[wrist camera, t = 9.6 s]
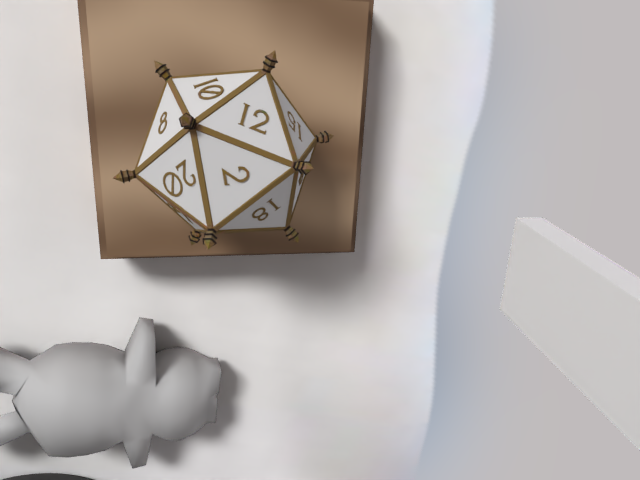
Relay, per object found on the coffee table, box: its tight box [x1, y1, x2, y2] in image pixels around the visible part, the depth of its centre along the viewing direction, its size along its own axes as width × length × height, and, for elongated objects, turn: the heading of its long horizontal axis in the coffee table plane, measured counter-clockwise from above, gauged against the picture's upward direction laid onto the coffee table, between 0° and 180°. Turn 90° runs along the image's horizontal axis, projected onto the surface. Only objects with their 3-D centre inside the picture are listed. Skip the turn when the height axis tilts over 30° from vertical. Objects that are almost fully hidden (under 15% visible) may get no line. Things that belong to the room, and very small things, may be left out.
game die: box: [113, 50, 334, 250], centre depth 26 cm, size 9×8×10 cm
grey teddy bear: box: [0, 317, 221, 468], centre depth 36 cm, size 10×5×15 cm
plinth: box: [78, 0, 374, 259], centre depth 32 cm, size 14×14×4 cm
